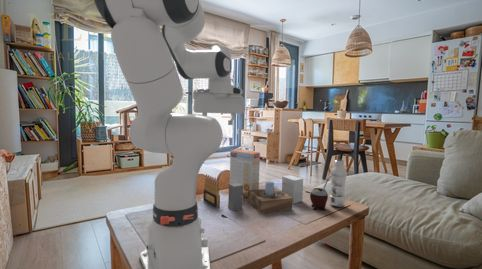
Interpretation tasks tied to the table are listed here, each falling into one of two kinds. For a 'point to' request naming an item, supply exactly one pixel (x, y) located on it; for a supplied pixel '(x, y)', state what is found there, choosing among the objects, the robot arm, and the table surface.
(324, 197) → the mate gourd
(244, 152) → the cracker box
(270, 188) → the blue-gray rectangular block
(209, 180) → the ammunition clip
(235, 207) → the square peg
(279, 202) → the socket block
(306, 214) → the table surface
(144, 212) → the table surface
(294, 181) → the small box
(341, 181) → the plastic bottle
